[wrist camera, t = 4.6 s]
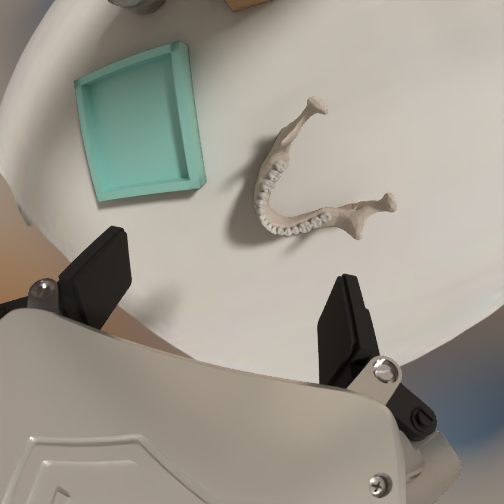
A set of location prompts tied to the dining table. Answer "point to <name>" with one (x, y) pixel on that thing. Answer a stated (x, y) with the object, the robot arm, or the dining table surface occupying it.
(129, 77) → the tray
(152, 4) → the grey metal cylinder
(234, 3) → the walnut block
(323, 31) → the dining table surface
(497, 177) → the dining table surface
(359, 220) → the anatomical model
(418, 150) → the dining table surface
